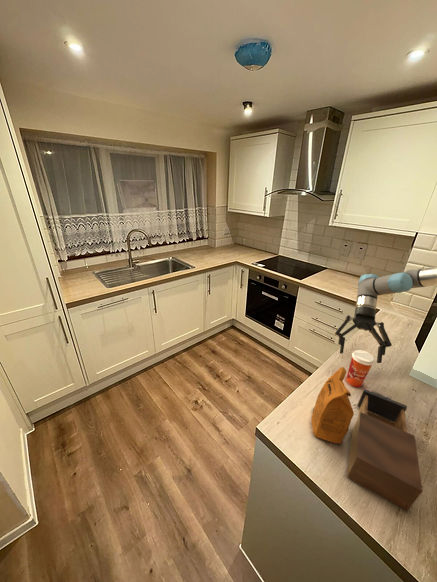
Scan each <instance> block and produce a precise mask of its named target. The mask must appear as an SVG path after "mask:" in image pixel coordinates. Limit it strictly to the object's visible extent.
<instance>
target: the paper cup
mask: <svg viewBox="0 0 437 582" xmlns="http://www.w3.org/2000/svg"><path fill="white" fill-rule="evenodd" d="M375 362H376V361H375V358H374V356H373V354H371V353H370V352H369V351H366V350H362V349H355V350H354V351H353V352H352V353H351V359H350V362H349V367H348V371H347V373H346V378H345V379H346V380H345V381H346V382H347V383H348V385H350V386H352V387H354V388H360V387H362V385H363V384H364V381H365V380H366V378H367V376H368V374H369V372H370V370H371V368H372V366H373V365H374V364H375Z"/></svg>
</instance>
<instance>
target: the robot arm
mask: <svg viewBox="0 0 437 582" xmlns="http://www.w3.org/2000/svg"><path fill="white" fill-rule="evenodd" d="M425 287H437V265H436V266H430V267H424V268H417V269H409V270H405V271H402V272H401V271H400V272H397V273H392V274H388V275H383V276H379V275H377V274H375V273H365V274H362V275H361V276H360V277H359V279H358V284H357V296H356V302H355V310H354V316H351V315H350V314H348V315H346V317H345V319H344V321H343V323H342V324H341V325H340V326H339V327H338V329H337V330H336V331H335V332H334V336H337V337H338V346H340V347H339V354H341V355H342V354H344V349H345V341H346V337H344V336H346V335H348V334H349V333H350V332H352V331H354V329H356V328H357V329H358V330H363V331H365V332H367V331H368V332H369V333H370V334H371V335H372V337H373V338H374V339H375V341H376V342H377V344H378V345H379V346H378V348H377V358H376V363H377V364H382V363H383V356H385V355H386V350H387V349H386V348H390V347H392V342H391V340H390V338H389V335H388V333H387V331H386V328H385V323H384V322H383V321H380V322H378V321H377V322H376V315H377V311H376V310H377V303H378V296H383V295H391V294H401V293H405V292H409V291H410V290H411V289H417V288H425ZM351 321H352V322H353V325H351V326H350V327H348V328H347V329H346V330H345V331H343V329H344V328H345V327H346V326H347V324H348V323H349V322H351ZM375 327H376V328H378V331H379V333H380V334H379V333H378V331H377V330H376V328H375ZM342 331H343V332H342ZM341 332H342V333H341Z"/></svg>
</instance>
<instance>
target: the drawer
mask: <svg viewBox="0 0 437 582" xmlns="http://www.w3.org/2000/svg"><path fill="white" fill-rule="evenodd" d="M356 404H357V405H356V406H357V407H358V408H359V409H358V415H359V414H360V412H362V413H364V414H366V415H368V416H371V417H373V418H375V419H378V420H380V421H382V422H384V423H387V424H389V425H391V426H394V427H396V428H398V429H400V430H403V431H405V432H407V433H408V428H407V419H406V411H407V409H408V406H407V405H406V404H404V403H401V402H399V401H396V400H394V399H393V397H392V396H390V395H388V394H385V393H383V392H380V391H378V390H375V389H371V390H369V389H365V388H363V389H362V391H361V394H360V396H359V400H358V402H357V403H356Z"/></svg>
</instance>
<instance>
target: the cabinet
mask: <svg viewBox="0 0 437 582" xmlns="http://www.w3.org/2000/svg"><path fill="white" fill-rule="evenodd" d="M350 437H351V438H350V447H349V456H348V464H347V465H348V466H347V475H346V477H347V478H348V479H349V480H351V481H353V482H355V483H357V484H358V485H360V486H362V487H364V488H365V489H366V490H369V491H370V492H373V493H374V494H376V495H378V496H379V497H381V498H383V499H384V500H387V501H388V502H390V503H392V504H393V505H395V506H397V507H399V508H401V509H402V510H404V511H406V512H408V511H409V510H410V508H411V507H412V506H413V504H414V503H415V502H416V501H417V500H418V498H419V497H420V496H421V494H422V493H423V484H422V478H421V471H420V464H419V457H418V450H417V443H416V436H415V435H414V434H412V433H409V432H408V431H407V432H405V431H403V430H400V429H398V428H396V427H394V426H391V425H389V424H387V423H384V422H382V421H380V420H378V419H375V418H373V417H371V416H368V415H366V414H364V413H362V412H360V414H359V413H358V417H357V419H356V422H355V424H354V426H353V428H352V431H351V436H350Z"/></svg>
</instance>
